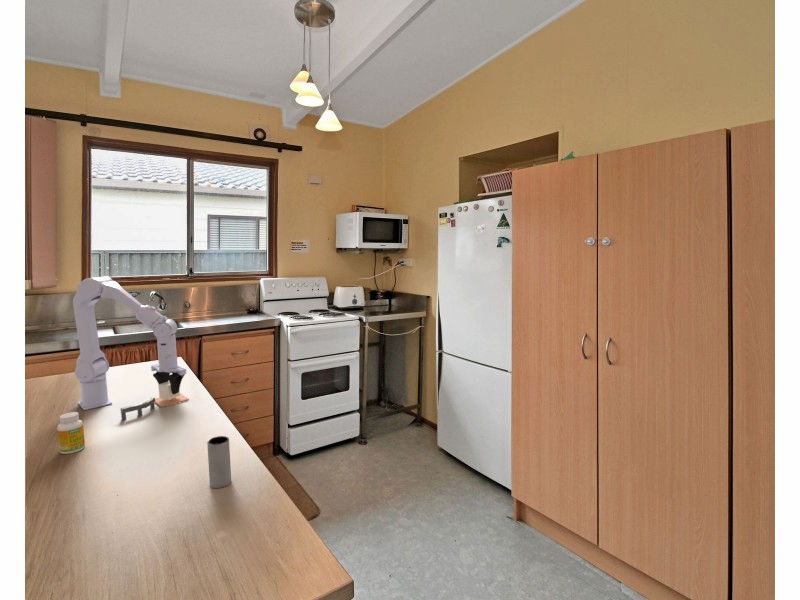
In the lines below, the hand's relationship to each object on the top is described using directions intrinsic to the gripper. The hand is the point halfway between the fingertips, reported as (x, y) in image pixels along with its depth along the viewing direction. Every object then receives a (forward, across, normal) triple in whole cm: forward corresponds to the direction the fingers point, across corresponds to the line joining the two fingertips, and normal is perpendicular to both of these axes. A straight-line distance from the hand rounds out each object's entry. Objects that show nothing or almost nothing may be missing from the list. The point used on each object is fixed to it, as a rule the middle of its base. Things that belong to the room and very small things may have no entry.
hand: (170, 392), depth 149 cm
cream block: (+2, 0, 0) cm, 2 cm away
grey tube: (+3, +56, -34) cm, 66 cm away
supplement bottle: (+3, +7, -36) cm, 37 cm away
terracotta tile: (+3, 0, 0) cm, 3 cm away
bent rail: (+3, +1, -12) cm, 13 cm away
